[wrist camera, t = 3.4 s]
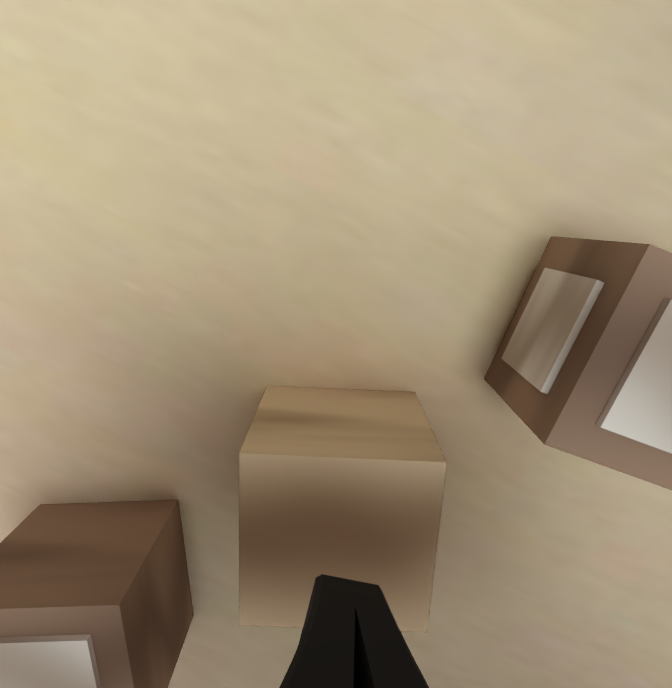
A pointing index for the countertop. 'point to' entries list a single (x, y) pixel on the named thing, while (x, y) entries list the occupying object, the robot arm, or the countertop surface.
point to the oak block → (338, 502)
